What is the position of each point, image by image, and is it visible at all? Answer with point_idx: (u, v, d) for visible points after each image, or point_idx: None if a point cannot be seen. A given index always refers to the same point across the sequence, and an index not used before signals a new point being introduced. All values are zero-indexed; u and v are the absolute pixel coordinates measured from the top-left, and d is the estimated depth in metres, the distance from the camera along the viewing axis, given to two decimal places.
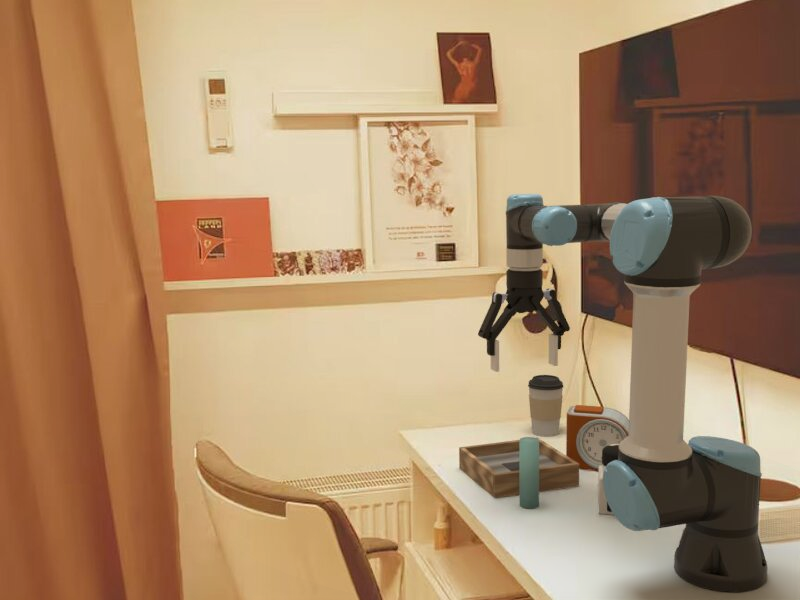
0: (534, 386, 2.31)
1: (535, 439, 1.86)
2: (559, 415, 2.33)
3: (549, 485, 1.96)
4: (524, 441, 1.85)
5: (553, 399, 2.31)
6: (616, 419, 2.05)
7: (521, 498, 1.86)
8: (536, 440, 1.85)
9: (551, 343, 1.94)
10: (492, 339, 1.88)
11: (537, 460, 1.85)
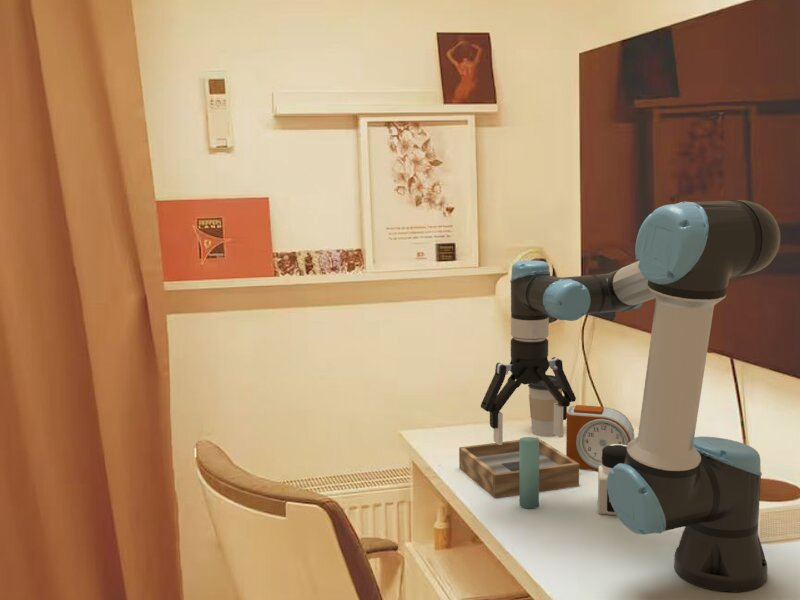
0: (534, 386, 2.31)
1: (535, 439, 1.86)
2: None
3: (549, 485, 1.96)
4: (524, 441, 1.85)
5: (553, 399, 2.31)
6: (616, 419, 2.05)
7: (521, 498, 1.86)
8: (536, 440, 1.85)
9: (556, 413, 1.87)
10: (495, 412, 1.81)
11: (537, 460, 1.85)
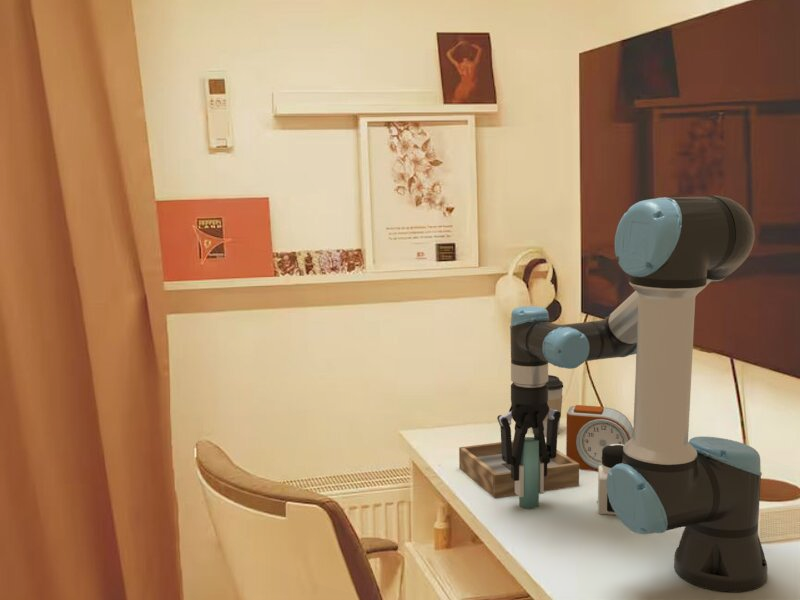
0: None
1: (535, 439, 1.86)
2: None
3: (549, 485, 1.96)
4: (524, 441, 1.85)
5: (553, 399, 2.31)
6: (616, 419, 2.05)
7: (521, 498, 1.86)
8: (536, 440, 1.85)
9: None
10: (517, 465, 1.84)
11: (537, 460, 1.85)
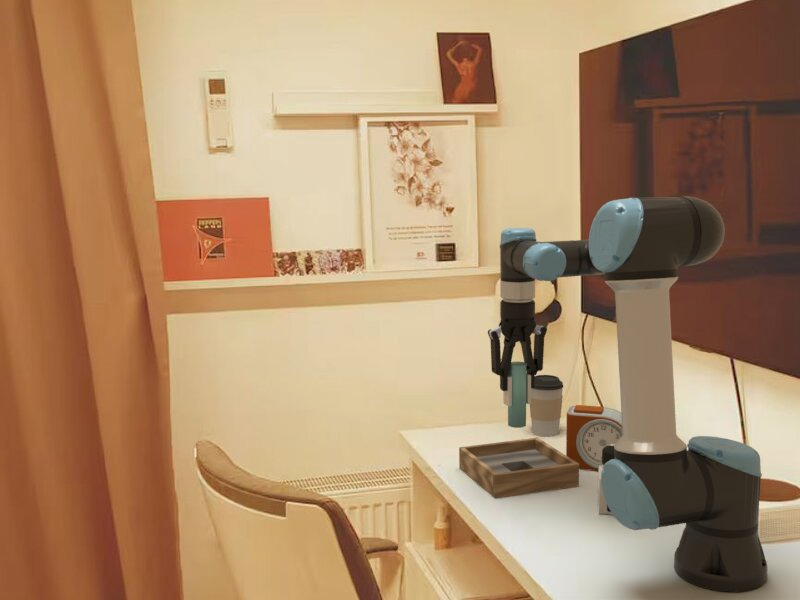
0: (534, 386, 2.31)
1: (523, 363, 2.00)
2: (559, 415, 2.33)
3: (549, 485, 1.96)
4: (513, 364, 1.99)
5: (553, 399, 2.31)
6: (616, 419, 2.05)
7: (509, 418, 2.01)
8: (523, 363, 1.99)
9: None
10: (506, 376, 1.98)
11: (524, 382, 1.99)
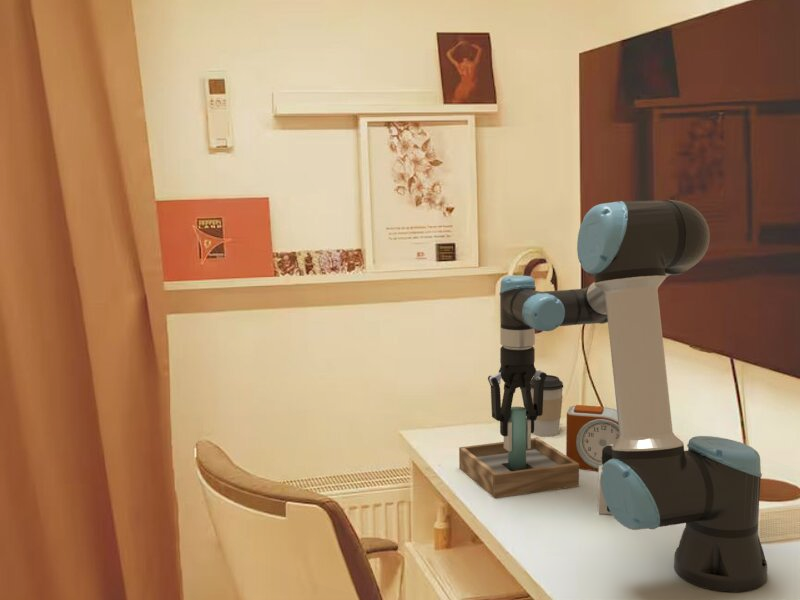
0: None
1: (522, 408, 2.02)
2: (559, 415, 2.33)
3: (549, 485, 1.96)
4: (513, 410, 2.01)
5: (553, 399, 2.31)
6: (616, 419, 2.05)
7: (509, 462, 2.03)
8: (523, 409, 2.02)
9: None
10: (506, 421, 2.00)
11: (524, 427, 2.01)
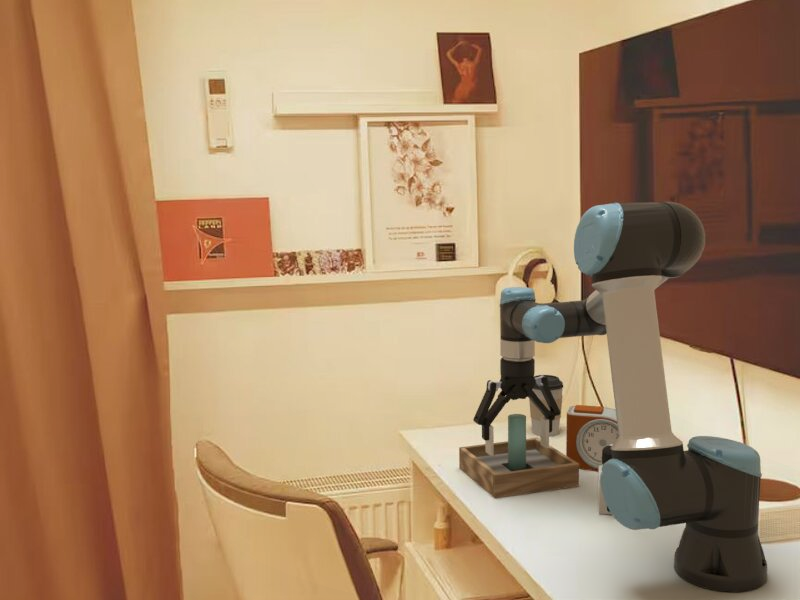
0: (534, 386, 2.31)
1: (522, 416, 2.02)
2: (559, 415, 2.33)
3: (549, 485, 1.96)
4: (512, 417, 2.02)
5: None
6: (616, 419, 2.05)
7: None
8: (523, 416, 2.02)
9: (543, 426, 2.05)
10: (487, 425, 1.99)
11: (524, 435, 2.02)
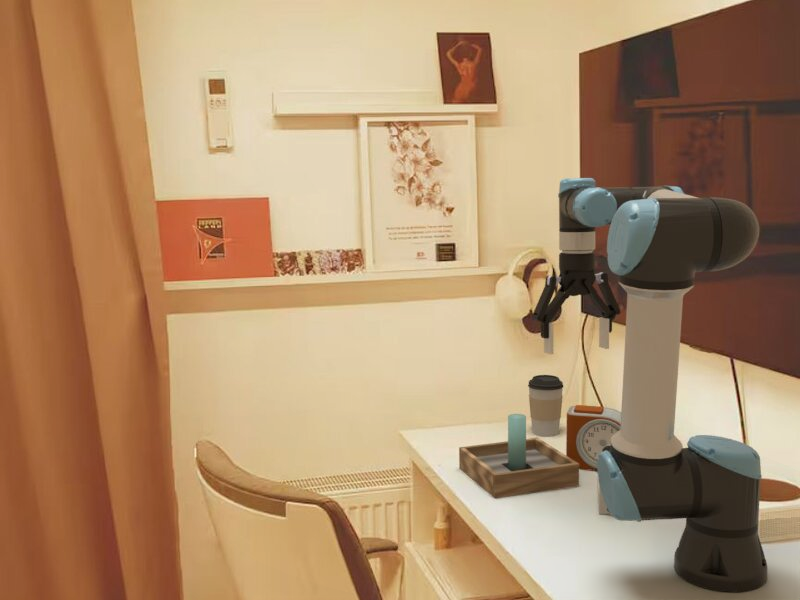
0: (534, 386, 2.31)
1: (522, 416, 2.02)
2: (559, 415, 2.33)
3: (549, 485, 1.96)
4: (512, 417, 2.02)
5: (553, 399, 2.31)
6: (616, 419, 2.05)
7: None
8: (523, 416, 2.02)
9: (602, 326, 1.96)
10: (547, 322, 1.90)
11: (524, 435, 2.02)
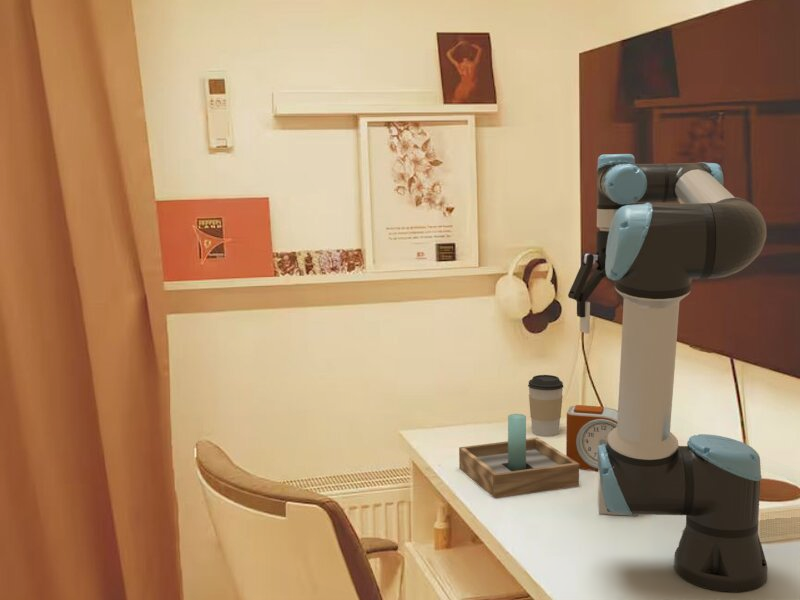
0: (534, 386, 2.31)
1: (522, 416, 2.02)
2: (559, 415, 2.33)
3: (549, 485, 1.96)
4: (512, 417, 2.02)
5: (553, 399, 2.31)
6: (616, 419, 2.05)
7: None
8: (523, 416, 2.02)
9: None
10: (583, 300, 1.87)
11: (524, 435, 2.02)
